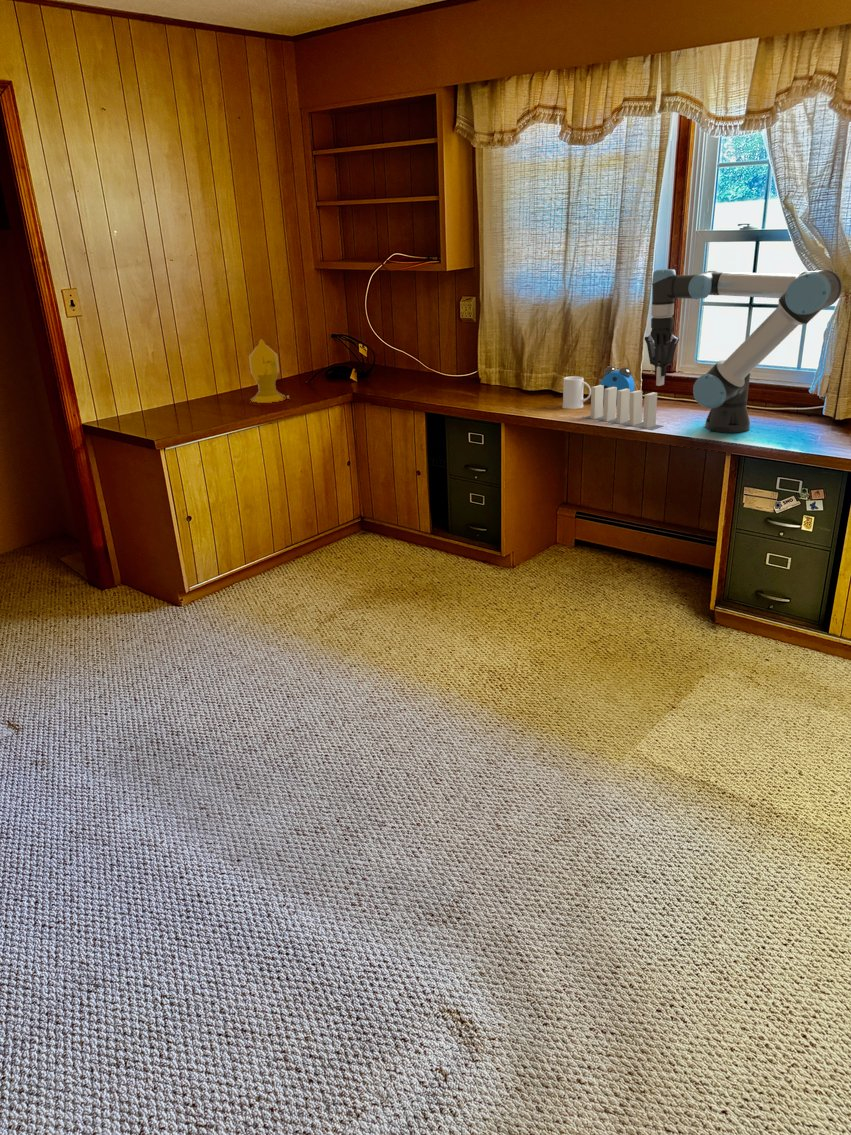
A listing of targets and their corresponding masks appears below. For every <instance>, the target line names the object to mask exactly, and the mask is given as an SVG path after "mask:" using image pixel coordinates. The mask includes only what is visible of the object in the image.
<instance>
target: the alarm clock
mask: <svg viewBox="0 0 851 1135" xmlns="http://www.w3.org/2000/svg"><path fill="white" fill-rule="evenodd" d="M619 369H620V370H619ZM603 375H604V376H603V377H602V379H601V381H600V384H599V385H604V393H605V389H606V388H610V387H617V392H618V391H619V390H622V389H630V392H634V391H635V388H636V385H635V384H636V383H635V379H634V378H633V376H632V370H631V369H630V368H629V367H626V366H623V367H621V368H620V367H615V366H613V365H611V366H607V367H606V368H605V369H604V371H603ZM603 399H604V394H603ZM616 405H617V398H616Z"/></svg>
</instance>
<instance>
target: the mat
mask: <svg viewBox="0 0 851 1135" xmlns="http://www.w3.org/2000/svg"><path fill="white" fill-rule="evenodd" d="M582 419H585V420H592V421H597V422H601V423H602V422H604V423H608V424H613V425H615V424H616V425H620V426H626V427H631V428H637V429H641V430H648V431H655V430H657V429H661V428H664V427H665V425H661V424H656V425H655V426H652V427H649V428H643V421H642V423H640V424H637V425H634V426H633V425H629V421H626V422H623V423H616V417H615V419H612V420H609V421H603V417H599V418H596V419H592V418H591V414H590V415H586V416H583V417H582Z"/></svg>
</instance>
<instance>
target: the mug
mask: <svg viewBox="0 0 851 1135" xmlns="http://www.w3.org/2000/svg"><path fill="white" fill-rule="evenodd" d="M584 380H585V378H584V377H583V376H580V375H579V376H578V375H577V376H576V375H572V376H566V377H563V381H562V382H563V386H562V387H563V389H562V390H563V391H562V392H563V394H562V409H569V410H572V409H573V410H574V409H575V410H577V409H583V408H584V402H586V401H588V400H589V399H590V398H591V386H590V384H588V383H587V382H586V381H584ZM584 386H586V387H587V388H588V390H589V393H588V395H587V397H586V398H584Z"/></svg>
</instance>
